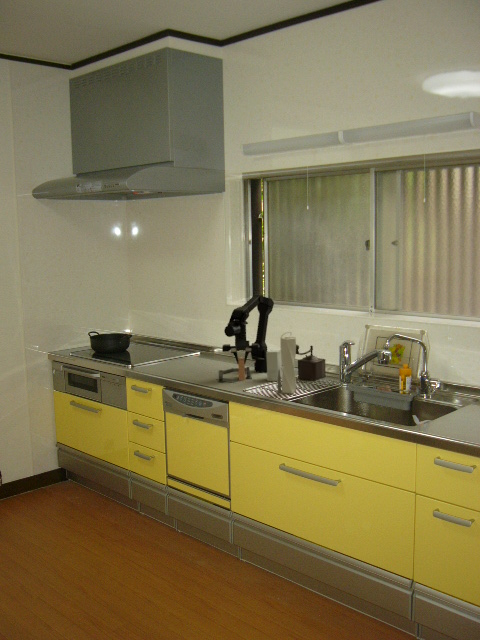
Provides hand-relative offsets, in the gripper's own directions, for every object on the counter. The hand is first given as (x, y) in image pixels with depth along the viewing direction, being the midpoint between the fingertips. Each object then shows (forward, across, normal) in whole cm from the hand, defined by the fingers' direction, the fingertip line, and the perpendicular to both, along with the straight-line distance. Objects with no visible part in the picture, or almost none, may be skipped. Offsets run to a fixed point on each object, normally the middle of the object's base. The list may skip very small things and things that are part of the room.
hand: (241, 364), depth 338 cm
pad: (+7, -8, -3) cm, 11 cm away
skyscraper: (+8, +22, -30) cm, 38 cm away
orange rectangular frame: (+7, 0, 0) cm, 7 cm away
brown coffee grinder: (+8, +34, -4) cm, 35 cm away
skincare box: (+8, +16, -4) cm, 19 cm away
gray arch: (+7, -3, -3) cm, 9 cm away
